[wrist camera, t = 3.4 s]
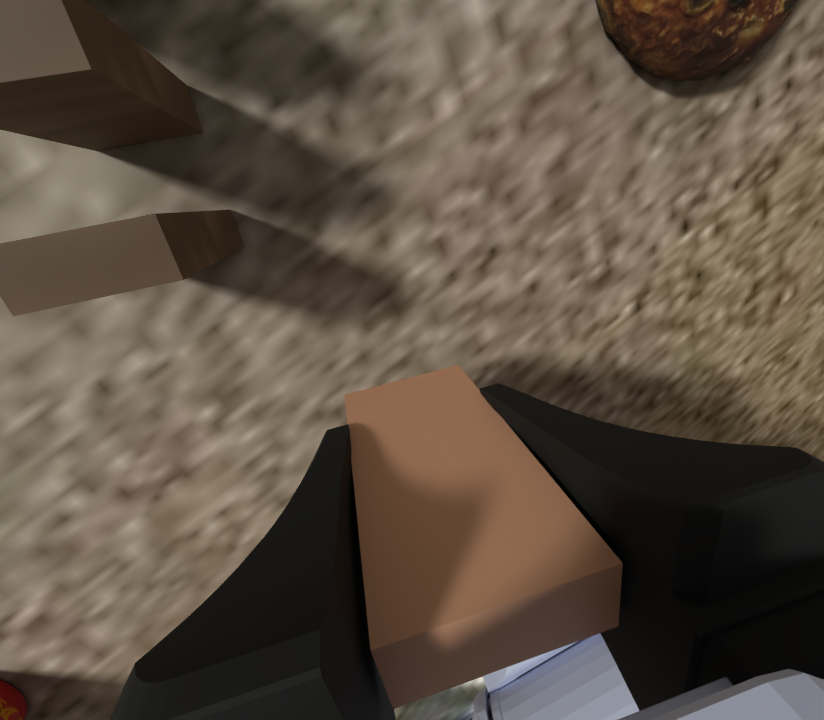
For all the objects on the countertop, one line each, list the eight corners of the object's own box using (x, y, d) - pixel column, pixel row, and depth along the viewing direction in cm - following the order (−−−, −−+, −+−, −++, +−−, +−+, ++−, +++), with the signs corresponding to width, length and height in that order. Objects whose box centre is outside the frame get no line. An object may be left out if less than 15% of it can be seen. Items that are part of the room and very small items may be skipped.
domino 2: (243, 247, 17) (183, 279, 10) (150, 267, 16) (13, 316, 9) (230, 209, 16) (154, 213, 9) (132, 228, 16) (-31, 249, 9)
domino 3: (464, 404, 14) (618, 626, 7) (356, 434, 13) (393, 708, 6) (458, 365, 13) (622, 562, 6) (344, 394, 13) (371, 650, 5)
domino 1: (203, 132, 15) (91, 69, 8) (96, 151, 15) (-127, 101, 7) (185, 84, 14) (46, -33, 7) (73, 102, 14) (-195, -5, 7)
